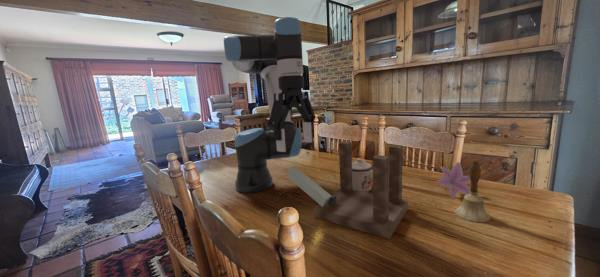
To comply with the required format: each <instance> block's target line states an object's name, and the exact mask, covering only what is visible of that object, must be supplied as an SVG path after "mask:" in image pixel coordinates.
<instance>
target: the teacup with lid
mask: <svg viewBox="0 0 600 277" xmlns="http://www.w3.org/2000/svg"><path fill="white" fill-rule="evenodd" d="M372 170H373V165H372V164H371V163H369V162H366V161H364V160H363V159H362V158H361V157H358V158H356V160H354V161H352V187H353V190H357V191H363V192H368V193H370V191H372V190H373V181H372Z"/></svg>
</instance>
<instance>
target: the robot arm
mask: <svg viewBox="0 0 600 277" xmlns="http://www.w3.org/2000/svg"><path fill="white" fill-rule="evenodd" d="M273 24H274V25H273V27H274V29H273V32H274V34H265V35H264V34H260V35H259V34H257V35H236V34H234V35H226V36H224V38H223V48H224V56H225V60H227V61H228V62H231V63H232V65H233V67H234V68H235V69H236V70H237V71H239V72H242V73H245V74H249V75H258V74H259V75H260V77H261V78H262V80H264V84H265V90H266V96H267V104H268V109H269V120H268V125H267V127H268V128H267V129H268V130H266V131H265V129H264V128H263V127H257V128H256V127H255V128H249V129H247V130H242V131H240V132H238V133H236V134H235V136H234V143H235V144H234V147H235V152H236V163H237V173H236V180H235V185H234V186H235V190H236V191H238V192H239V193H244V194H245V193H247V194H249V193H250V194H251V193H257V192H258V193H260V192H262V191H265V190H268V189H270V188H271V187H272V186H273V184H274V182H273V177H272V176H271V172H270V170H269V168H268V162H267V161H269V160H278V159H286V158H289V159H290V158H292V157H293V158H294V157H298V156H299V155H300V153H301V150H302V143H303V142H304V143H313V136H312V135H313V133H312V130H313V129H312V128H313V127H312V123H314V122H315V119H316V115H315V113H314V109H313V106H312V103H311V100H310V95H309V92H308V91H303V90H302V89H305V77H304V76H303V75H302V74H304V65H303V64H304V63H303V44H302V41H303V39H302V32H303V31H302V28H301V21H300V20H299V19H298V18H297V17H293V16H291V17H290V16H289V17H288V16H286V17H279V18H277V19H276V20H275V21H274V22H273ZM293 108H296V109H297V111H298V113H299V114H300V116H301V118H302V120H303V122H302V130H301V128H299V127H297V126H296V123H295V122H294V121H292V119H291V112H290V110H292V109H293ZM302 131H303V140H302ZM302 141H303V142H302Z"/></svg>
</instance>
